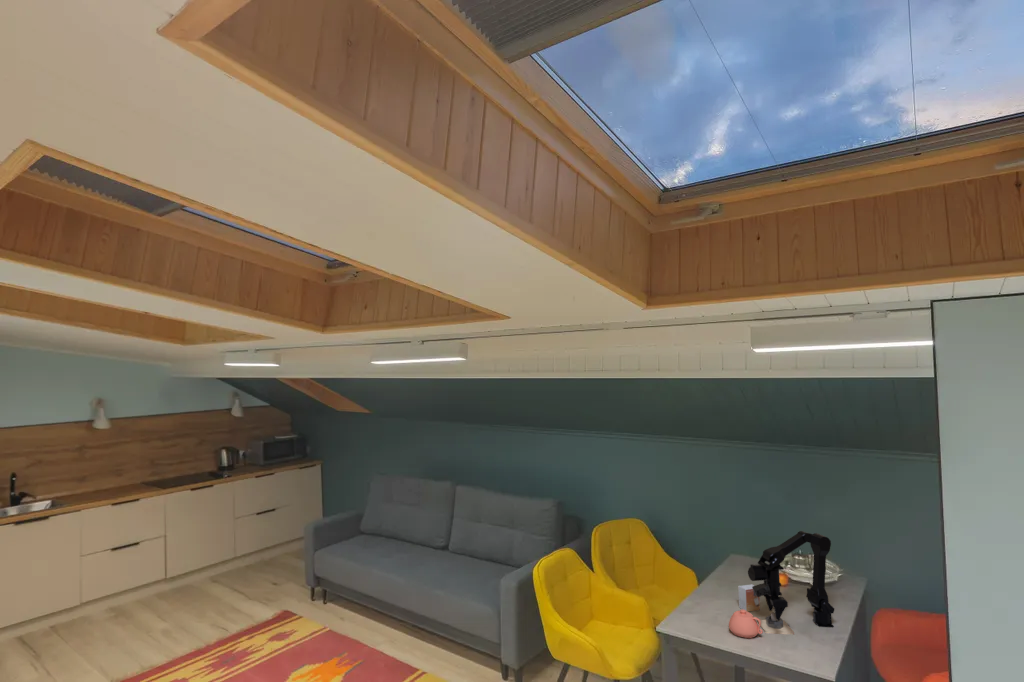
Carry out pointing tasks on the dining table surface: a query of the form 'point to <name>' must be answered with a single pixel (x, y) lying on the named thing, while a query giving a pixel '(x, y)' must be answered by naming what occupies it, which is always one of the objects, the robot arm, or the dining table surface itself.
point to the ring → (774, 623)
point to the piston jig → (769, 630)
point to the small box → (748, 598)
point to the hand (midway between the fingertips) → (774, 614)
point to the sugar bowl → (744, 624)
